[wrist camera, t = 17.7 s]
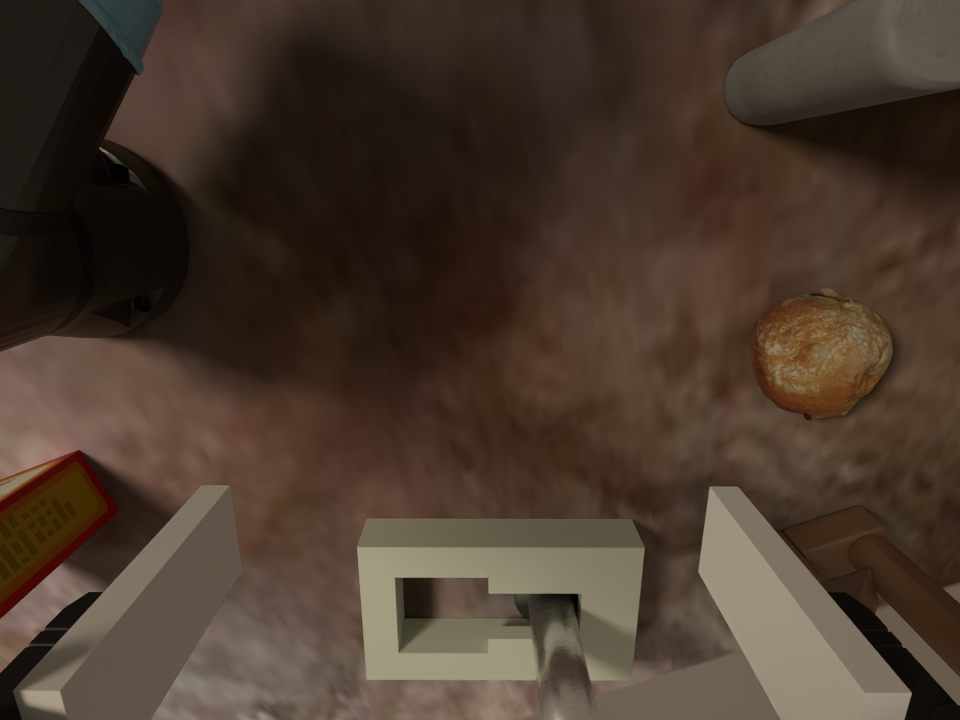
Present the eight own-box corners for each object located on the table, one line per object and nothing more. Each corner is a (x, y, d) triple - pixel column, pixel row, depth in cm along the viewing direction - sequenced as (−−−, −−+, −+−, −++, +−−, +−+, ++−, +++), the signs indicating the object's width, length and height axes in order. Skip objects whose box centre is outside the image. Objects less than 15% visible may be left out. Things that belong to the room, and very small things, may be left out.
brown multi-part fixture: (742, 540, 53) (868, 713, 36) (859, 502, 52) (1049, 662, 34) (751, 572, 54) (879, 755, 37) (867, 535, 53) (1054, 707, 35)
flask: (732, 146, 43) (937, 118, 24) (714, 65, 41) (917, -37, 22) (938, 69, 41) (1335, -30, 22) (927, -19, 39) (1346, -207, 20)
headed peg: (512, 611, 55) (526, 806, 38) (513, 554, 53) (529, 732, 36) (579, 611, 55) (623, 806, 38) (582, 554, 53) (631, 732, 36)
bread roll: (844, 297, 50) (909, 270, 42) (864, 416, 48) (936, 411, 40) (729, 307, 50) (771, 282, 42) (746, 425, 49) (793, 422, 41)
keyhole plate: (375, 643, 56) (366, 679, 52) (367, 518, 52) (357, 547, 48) (620, 643, 56) (631, 680, 52) (631, 518, 52) (644, 547, 48)
